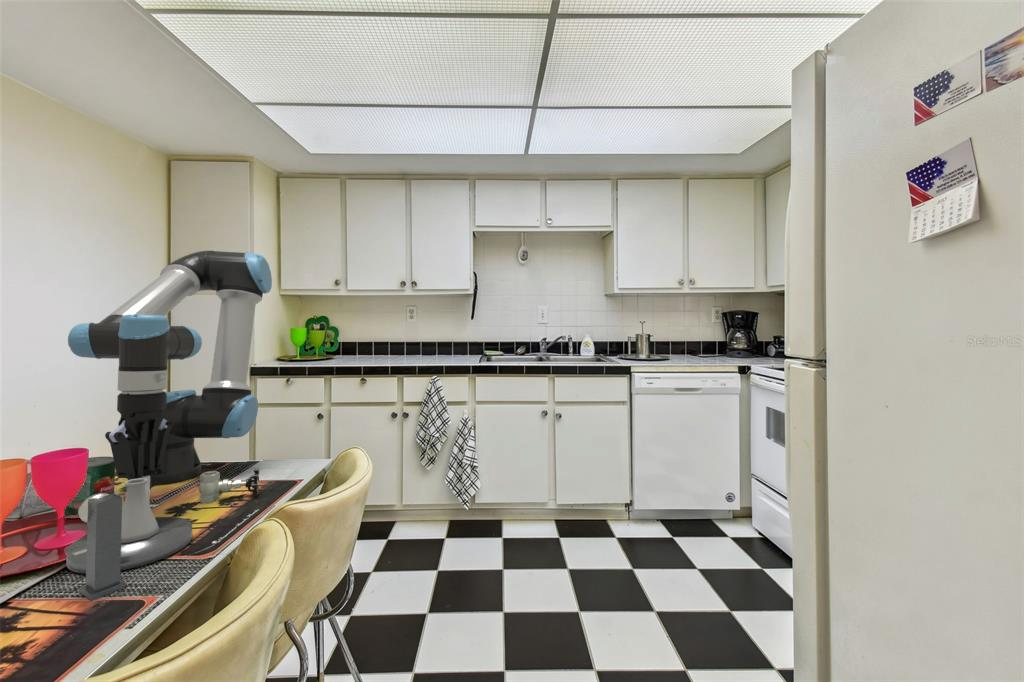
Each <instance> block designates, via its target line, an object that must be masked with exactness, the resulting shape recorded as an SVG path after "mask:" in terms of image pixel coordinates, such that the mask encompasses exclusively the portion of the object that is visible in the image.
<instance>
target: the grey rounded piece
mask: <svg viewBox="0 0 1024 682" xmlns="http://www.w3.org/2000/svg"><path fill="white" fill-rule="evenodd" d="M115 494H116V495H118V496H120V497H122V507H123V504H124V501H125V493H123V492H118V493H115ZM154 517H155V516H154ZM155 519H156V521H157V524H158V526H159V532H157V533H156V534H154V535H152V536H151V537H149V538H147V539H142V540H138V541H133V542H129V543H121V566H120V571H125V570H130V569H134V568H138V567H142V566H145V565H147V564H148V565H149V564H151V563H155V562H157V561H160V560H162V559H165V558H167V557H169V556H171V555H174V554H176V553H177V552H179V551H180V550H183V549H184V548H185V547H186V546H187V545H189V544H190V542H191V541H192V539H193V523H192V521H191V520H188V519H187V518H184V517H179V516H156V517H155ZM65 560H66V562H65V563H66V567H67V569H68V570H70V571H72V572H73V573H78V574H86V560H87V534H86V535H84V536H82V537H80V538H78V539H76V540H75V541H73V542H72V543H71V544H70V545H69V546H68V547H67V549H66V559H65Z"/></svg>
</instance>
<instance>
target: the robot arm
mask: <svg viewBox="0 0 1024 682" xmlns="http://www.w3.org/2000/svg"><path fill="white" fill-rule="evenodd" d="M272 285H273V279H272V272H271V268H270V265H269V263H268V261H267V258H265V257H264V256H263V255H261V254H258V253H250V252H248V251H246V252H239V251H236V252H235V251H221V250H220V251H218V250H201V251H196V252H192V253H189V254H187V255H186V254H185V255H184V256H181V257H179V258H177V259H175V260H173V261H172V262H170V263H169V264H168V265H166V266H164V267H163V269H162V270H160V274H159V276H158V277H157V278H156V279H154V280H153V281H152V282H150V283H149V284H148V285H147V286H146V287H144V288H143V289H141V290H139V292H137V293H136V294H134V296H132V297H131V298H129V299H128V300H127V301H126V302H124V303H123V304H122V305H120V306H119V307H118V308H116V309H114V311H112V312H111V313H110V314H109V315H107V316H106V317H105V318H103V319H102V320H100V322H97V323H94V322H88V323H87V322H86V323H85V322H84V323H83V322H82V323H79V324H76V325H74V326H73V327H72V328H71V329H70V331H69V333H68V335H67V336H68V337H67V346H68V347H69V348H70V351H71V353H73V354H74V355H75V356H77V357H80V358H87V359H90V358H91V359H97V360H100V359H110V360H111V359H118V370H117V390H118V391H119V392H120V393H119V394H118V395H117V402H116V411H117V412H118V413H119V414H120V419H119V421H118V423H117V424H118V426H117V428H115V429H113V431H107V432H105V434H104V436H105V439H106V441H108V443H109V444H110V449H111V454H112V457H113V459H114V463H115V472H116V475H117V476H116V477H117V478H119V479H126V480H127V481H128V480H131V479H138V478H147V483H146V484H145V494H146V499H147V501H148V504H149V505H150V501H151V500H150V499H151V497H150V496H151V495H150V494H151V490H152V487H153V486H159V485H167V484H174V483H177V482H182V481H185V480H186V481H187V480H190V479H193V478H195V477H198V476H200V475H201V474H202V462H201V460H200V458H199V455H198V452H197V450H196V447H195V439H230V438H241V437H244V436H246V435H247V434H248V433H249V432H250V431H251V429H252V428H253V426H254V424H255V423H256V419H257V417H258V411H259V405H258V403H259V401H258V399H257V397H256V396H255V395H253V394H252V388H250V386H249V385H248V383H247V380H248V371H249V366H250V365H249V364H250V355H251V349H252V348H251V346H252V341H253V340H252V339H253V332H254V329H253V328H254V321H255V312H256V306H257V304H259V303H260V302H261V301H263V294H268V293H270V292H271V289H272V287H273V286H272ZM202 291H216V292H215V295H216V296H217V297H218V298H219V300H221V302H220V308H219V317H218V324H217V330H216V331H217V332H216V338H215V345H214V352H213V353H214V354H213V360H212V367H211V375H210V382H208V383H207V384H206V385H205V386H203V387H202V392H201V395H197V392H196V390H195V389H184V390H175V391H168V392H167V391H163V390H166V389H167V388H168V387H167V386H168V385H167V384H168V383H167V380H168V361H169V360H170V361H172V360H174V361H175V360H181V361H182V360H185V359H188V358H192V357H194V356H196V355H197V354H198V353H199V352H200V350H201V348H202V346H203V345H202V344H203V340H202V336H201V334H199V332H198V331H197V330H195V329H194V328H192V327H188V326H185V325H170V321H169V318H168V317H166V316H167V315H168V314H169V313H170V312H171V311H172V310H173V309H174V308H175V307H176V306H178V305H179V304H180V303H181V302H182V301H183V300H184V299H186V297H191V296H194V295H196V294H198V293H199V292H202Z"/></svg>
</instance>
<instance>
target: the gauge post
mask: <svg viewBox="0 0 1024 682" xmlns="http://www.w3.org/2000/svg"><path fill="white" fill-rule="evenodd" d="M116 494H117V493H114V494H107V493H99V494H95V495H92V496H90V497H89V498H87V499H86V500H85V501H84V502H83V503H82V504H81V506H80V508H79V511H78V515H79V518H80V519H79V520H81V521H82V522H84V523H86V524H87V527H86V529H87V530H86V532H87V533H86V535H87V560H86V573H85V585H82V586H79V594H81V595H83V596H84V597H86V598H87V599H89V600H90V601H94V600H96V599H98V598H102V597H104V596H106V595H109V594H111V593H115V592H117V591H119V590H121V589H125V588H126V583H127V582H126V581H125V580H123V579H121V570H120V566H121V529H122V497H120V496H118V495H116Z"/></svg>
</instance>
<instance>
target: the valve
mask: <svg viewBox="0 0 1024 682" xmlns="http://www.w3.org/2000/svg"><path fill="white" fill-rule="evenodd" d="M253 473H254V474H253V475H250V476H249V477H248V478H247V479H245V481H242V479H237V480H234V481H231V480H230V479H229V478H224V479H223V480H221V479H220V477H221V475H220V474H221V473H220V472H219V471H217V470H216V471H215V470H211V471H205V472H201V473H200V474H199V476H200V477H199V479H200V480H199V481H200V483H199V487H198V491H199V503H201V504H203V503H205V504H211V503H210V502H213V503H215V502H217V501H219V500H220V492H222V493H228V491H229V490H232V489H233V488H234V489H241V488H242V487H245V488H246V489H247V491H248V492H250V493H252V494H251V495H252V496H253V495H259V488H260V486H259V481H260V475H259V474H260V469H259V468H253ZM218 499H219V500H218ZM216 500H217V501H216ZM214 501H215V502H214Z"/></svg>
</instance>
